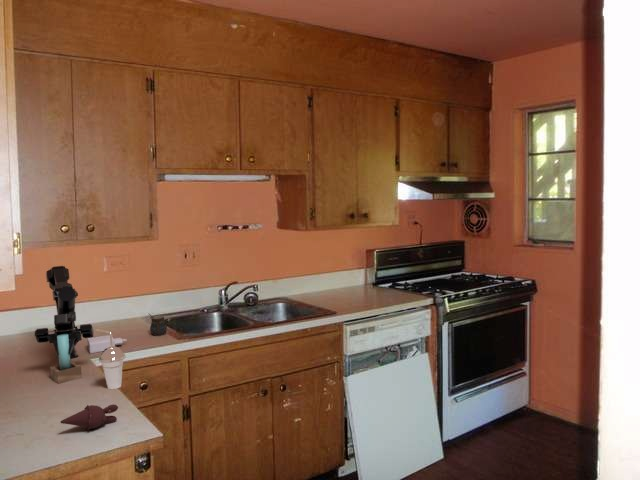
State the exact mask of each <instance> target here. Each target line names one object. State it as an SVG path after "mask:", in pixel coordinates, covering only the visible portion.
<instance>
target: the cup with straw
mask: <svg viewBox="0 0 640 480" xmlns="http://www.w3.org/2000/svg"><path fill="white" fill-rule="evenodd" d="M95 332H102V333H107V334H108V335H110V344H111V347H108V348H106V349H105V350H104V351H103V352H101V355H100V356H99V358H98V361H99V363H101V366H102V370H103V373H104V379H105V384H106V386H107V389H108V390H109V389H110V390H116V389H119V388H121V387H122V382H123V381H122V380H123V366H124V360H125V358H126V354H125V353H124V352H123V351H122V349H121V348H119V347H118V346H116V345H115V346H113V341H112V336H113V332H112V331H111V330H106V329H101V328H96V329H95Z"/></svg>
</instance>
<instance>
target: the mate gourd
mask: <svg viewBox="0 0 640 480" xmlns="http://www.w3.org/2000/svg"><path fill="white" fill-rule="evenodd" d="M147 315H149V316H150V317H151V318H150V319H151V323H150V328H149V329H150V332H151V334H152V335H153V336H155V337H160V336H164V335H165V334H166V332H167V330H168V329H167V323H166V322H165V321H166V320H165V316H164V315H156V316H153V315H152V314H150V313H149V312H148V314H147Z"/></svg>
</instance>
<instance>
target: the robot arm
mask: <svg viewBox="0 0 640 480" xmlns="http://www.w3.org/2000/svg"><path fill="white" fill-rule="evenodd" d="M45 272H46V273H45V278H46V279H45V280H46V283H48V285H49V287H48V288H50V289H51V290H52V300H53V301H55V307H56V313H57V314H54V315H53V319H54V320H53V325H54V329H52V330H51V329H48V327H43V328H36V329H35V331H34V336H35V339H36V342H37V343H39V344H40V343H49V344H52V345H53V347H54V350H55V354H56V358H57V359H59V353H58V342H57V336H58V335H61V334H68V338H69V354H70V359H74V358H78V357H79V354H77V353H76V349H75V347H76V345H78V343H79V342H81V341H82V340H83V338H84V339H87V338H93V337H94V335H95V334H94V328H93V327H94V326H93V325H92V324H91V323H87V324H86V323H85V324H80V325H79V328H78V326H76V324H75V323H76V321H77V315H76V311H75V310H76V298H77V297H78V296H79V294H78V291H77V290H76V289H75V288H73V284H72V283H69V282H68V281H69V280H70V279H71V278H70V270H69V268H66V266H65V265H57V266H55V265H54V266H52V267H51V268H50V269H48V270H46V271H45Z"/></svg>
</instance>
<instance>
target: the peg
mask: <svg viewBox="0 0 640 480" xmlns="http://www.w3.org/2000/svg"><path fill="white" fill-rule="evenodd" d="M57 342H58V353H59V358H58V361H59V362H58V363H59V364H58V365H60V371H61V370H65V369H69V368H71V362H72V361H71V358H70V354H69V338H68V334H61V335H58V336H57Z"/></svg>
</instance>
